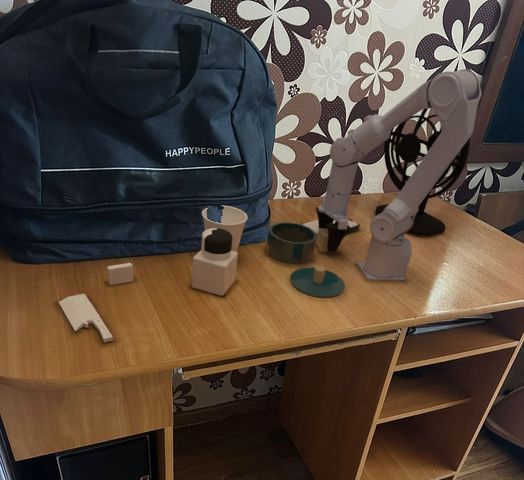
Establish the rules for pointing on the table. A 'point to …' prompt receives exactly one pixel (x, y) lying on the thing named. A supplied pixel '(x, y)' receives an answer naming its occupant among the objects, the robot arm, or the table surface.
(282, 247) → the canister
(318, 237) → the block
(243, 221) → the cup
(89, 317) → the butcher knife
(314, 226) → the phone case
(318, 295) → the lid
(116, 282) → the eraser
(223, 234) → the medicine bottle
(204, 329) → the table surface
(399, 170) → the desk fan
